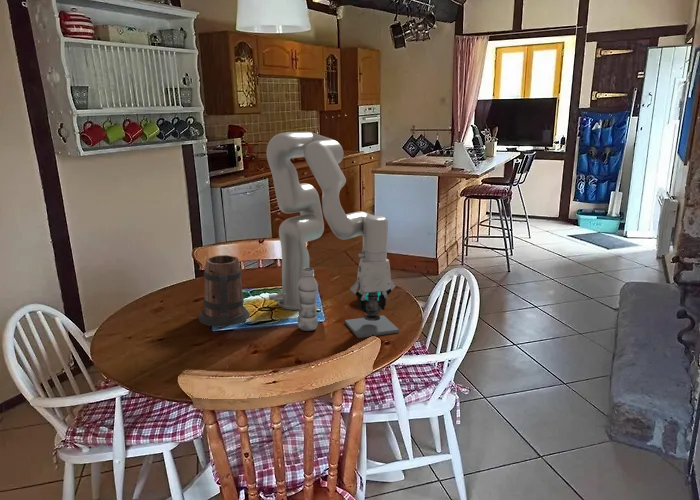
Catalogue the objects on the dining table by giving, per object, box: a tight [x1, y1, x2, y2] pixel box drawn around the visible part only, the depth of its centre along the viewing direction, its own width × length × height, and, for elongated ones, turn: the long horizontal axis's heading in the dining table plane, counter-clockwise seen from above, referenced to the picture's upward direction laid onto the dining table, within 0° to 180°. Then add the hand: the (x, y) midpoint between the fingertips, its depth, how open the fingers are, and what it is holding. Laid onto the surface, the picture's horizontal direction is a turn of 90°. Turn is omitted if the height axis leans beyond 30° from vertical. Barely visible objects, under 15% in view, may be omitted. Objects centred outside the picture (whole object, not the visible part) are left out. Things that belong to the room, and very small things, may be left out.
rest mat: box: [344, 314, 400, 339], centre depth 168 cm, size 14×12×1 cm
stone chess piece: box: [363, 292, 382, 321], centre depth 166 cm, size 6×6×12 cm
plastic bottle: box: [297, 267, 319, 332], centre depth 163 cm, size 6×7×20 cm
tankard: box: [198, 254, 251, 327], centre depth 168 cm, size 24×17×20 cm
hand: (372, 309), depth 167 cm, fingers closed on stone chess piece, 5 cm apart
